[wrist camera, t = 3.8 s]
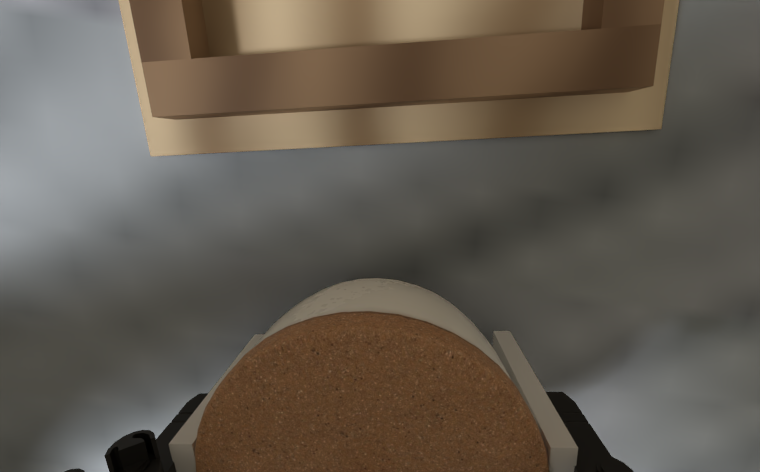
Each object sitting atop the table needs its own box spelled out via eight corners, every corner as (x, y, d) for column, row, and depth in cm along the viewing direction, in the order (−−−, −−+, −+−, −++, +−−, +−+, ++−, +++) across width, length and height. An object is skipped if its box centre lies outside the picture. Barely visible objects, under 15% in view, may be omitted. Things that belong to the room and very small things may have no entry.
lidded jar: (247, 279, 17) (78, 422, 8) (457, 218, 16) (530, 311, 7) (319, 449, 20) (249, 707, 11) (508, 410, 18) (613, 667, 9)
